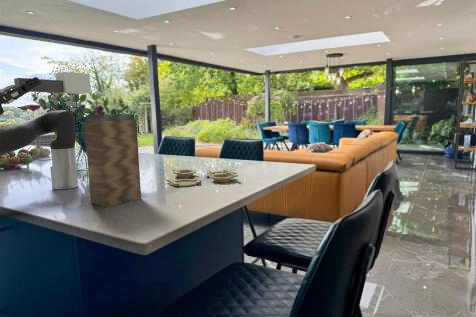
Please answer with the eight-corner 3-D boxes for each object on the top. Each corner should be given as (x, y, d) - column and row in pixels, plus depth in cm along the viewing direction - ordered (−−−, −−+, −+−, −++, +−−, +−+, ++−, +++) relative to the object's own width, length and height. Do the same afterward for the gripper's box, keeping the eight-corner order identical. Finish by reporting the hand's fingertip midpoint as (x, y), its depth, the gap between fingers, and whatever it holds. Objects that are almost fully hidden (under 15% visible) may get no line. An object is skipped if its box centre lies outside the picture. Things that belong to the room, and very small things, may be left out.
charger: (21, 90, 92) (19, 68, 92) (13, 91, 96) (11, 70, 95) (91, 93, 108) (89, 74, 107) (81, 93, 112) (80, 75, 111)
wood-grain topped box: (106, 207, 112) (99, 114, 108) (90, 202, 119) (83, 114, 114) (141, 198, 123) (136, 113, 119) (125, 194, 129) (120, 114, 125)
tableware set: (166, 189, 140) (165, 179, 139) (164, 176, 168) (164, 168, 168) (246, 183, 148) (246, 174, 147) (232, 172, 176) (232, 165, 176)
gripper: (-26, 96, 81) (37, 66, 91) (-42, 98, 90) (18, 70, 100) (-4, 122, 85) (54, 90, 95) (-22, 122, 93) (34, 93, 104)
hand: (35, 80), depth 98 cm, fingers closed on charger, 3 cm apart
